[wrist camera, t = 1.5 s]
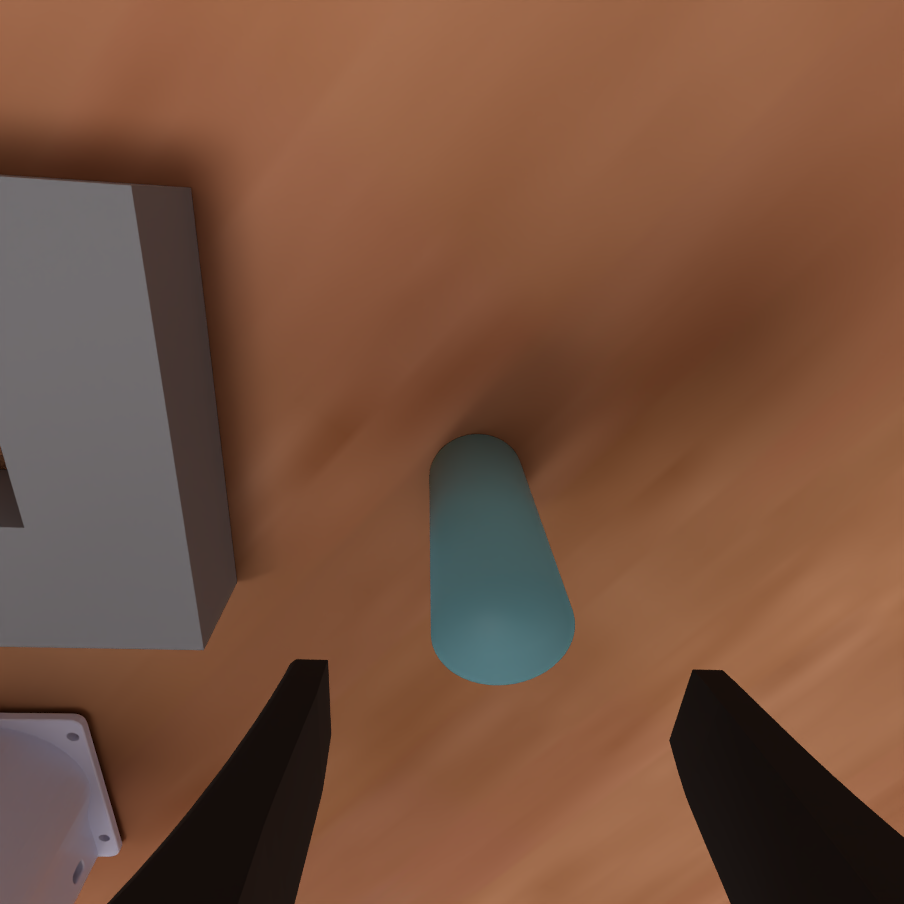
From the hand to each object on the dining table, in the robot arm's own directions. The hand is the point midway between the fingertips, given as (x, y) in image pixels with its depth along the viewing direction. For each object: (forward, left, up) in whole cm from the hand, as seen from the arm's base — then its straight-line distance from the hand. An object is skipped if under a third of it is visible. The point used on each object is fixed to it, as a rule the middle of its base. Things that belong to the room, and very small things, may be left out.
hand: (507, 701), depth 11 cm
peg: (0, 0, -10) cm, 10 cm away
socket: (+2, +16, -10) cm, 19 cm away
